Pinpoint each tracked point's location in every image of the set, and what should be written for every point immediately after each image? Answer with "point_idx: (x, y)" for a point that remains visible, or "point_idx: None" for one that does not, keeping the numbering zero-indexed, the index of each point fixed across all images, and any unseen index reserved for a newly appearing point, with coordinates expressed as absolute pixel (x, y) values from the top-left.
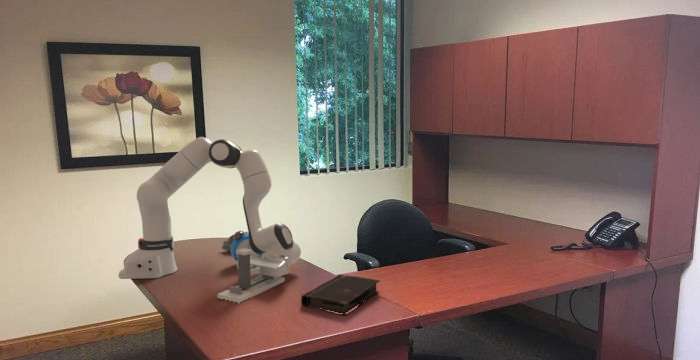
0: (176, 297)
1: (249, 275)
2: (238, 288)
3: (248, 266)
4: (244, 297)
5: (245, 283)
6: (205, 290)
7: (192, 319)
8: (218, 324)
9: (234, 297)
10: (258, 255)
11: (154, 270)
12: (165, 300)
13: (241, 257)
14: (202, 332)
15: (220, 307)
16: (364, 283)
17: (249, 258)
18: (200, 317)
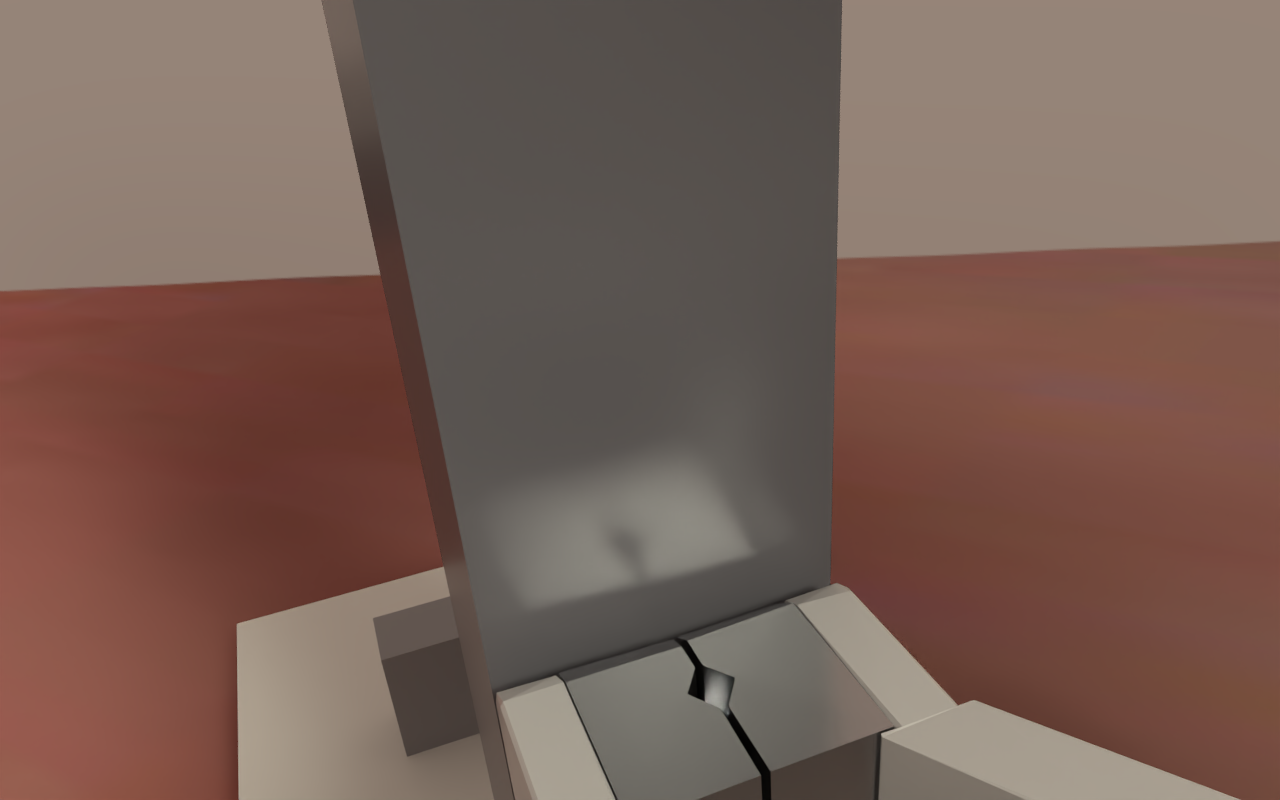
0: (1030, 311)
1: (499, 754)
2: (445, 615)
3: (421, 393)
4: (242, 750)
5: (486, 755)
6: (1201, 516)
7: (355, 318)
8: (34, 400)
9: (370, 604)
10: None
11: None
12: (981, 265)
13: None
14: (65, 322)
15: (377, 494)
16: None
17: (351, 6)
18: (330, 351)
